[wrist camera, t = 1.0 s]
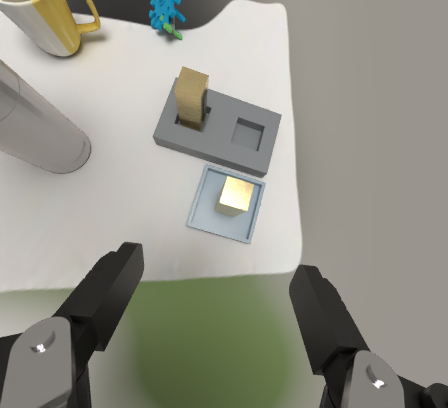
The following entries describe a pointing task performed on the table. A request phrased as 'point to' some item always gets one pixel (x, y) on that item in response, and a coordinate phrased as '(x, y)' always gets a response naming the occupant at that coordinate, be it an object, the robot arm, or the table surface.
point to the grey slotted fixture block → (223, 133)
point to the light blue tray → (219, 222)
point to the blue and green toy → (165, 15)
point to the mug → (49, 23)
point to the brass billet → (234, 197)
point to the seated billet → (191, 98)
